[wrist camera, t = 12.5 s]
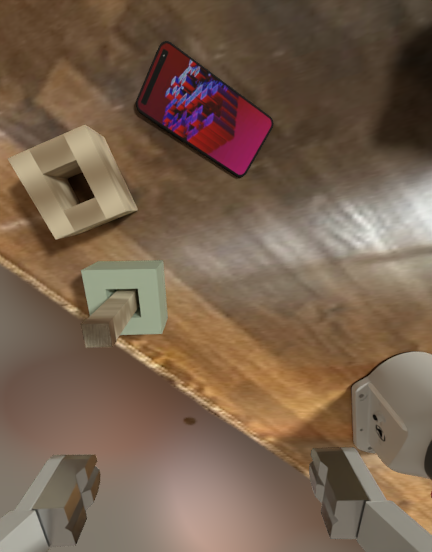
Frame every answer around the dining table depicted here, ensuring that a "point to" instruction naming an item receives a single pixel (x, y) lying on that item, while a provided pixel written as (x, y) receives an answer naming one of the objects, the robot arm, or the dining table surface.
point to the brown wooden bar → (110, 319)
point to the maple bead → (57, 190)
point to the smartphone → (202, 110)
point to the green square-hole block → (130, 275)
